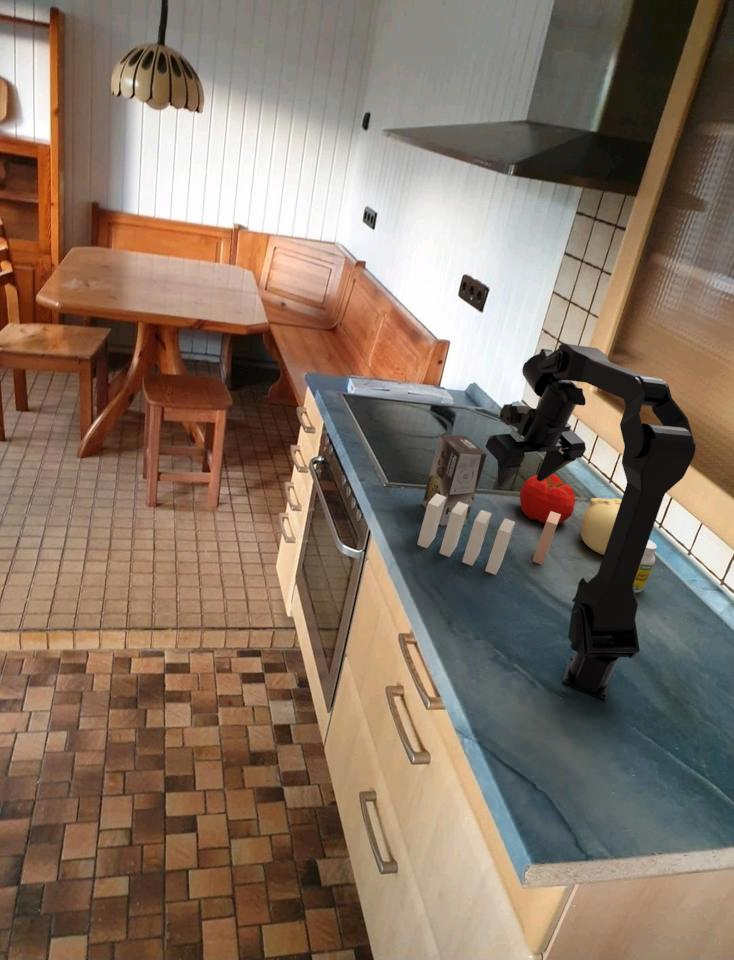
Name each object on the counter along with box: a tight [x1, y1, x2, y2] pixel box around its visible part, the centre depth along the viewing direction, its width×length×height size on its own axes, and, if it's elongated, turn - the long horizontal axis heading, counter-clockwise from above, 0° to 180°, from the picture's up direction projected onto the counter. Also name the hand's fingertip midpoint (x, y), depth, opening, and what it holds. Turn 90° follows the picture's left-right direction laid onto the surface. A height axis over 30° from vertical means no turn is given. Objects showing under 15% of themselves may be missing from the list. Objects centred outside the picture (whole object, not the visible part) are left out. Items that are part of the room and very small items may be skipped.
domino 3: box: [461, 509, 492, 567], centre depth 129 cm, size 5×2×9 cm, turn 157°
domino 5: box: [532, 511, 561, 566], centre depth 134 cm, size 5×2×9 cm, turn 157°
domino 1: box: [416, 493, 446, 549], centre depth 131 cm, size 5×2×9 cm, turn 157°
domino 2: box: [439, 502, 469, 558], centre depth 130 cm, size 5×2×9 cm, turn 157°
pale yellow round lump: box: [580, 497, 622, 556], centre depth 143 cm, size 11×12×11 cm
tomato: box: [519, 473, 576, 525], centre depth 150 cm, size 11×12×9 cm
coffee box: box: [422, 434, 488, 526], centre depth 141 cm, size 9×6×16 cm
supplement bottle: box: [633, 539, 658, 594], centre depth 131 cm, size 5×5×10 cm
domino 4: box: [485, 518, 516, 576], centre depth 128 cm, size 5×2×9 cm, turn 157°
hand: (519, 482), depth 128 cm, fingers open, 9 cm apart
